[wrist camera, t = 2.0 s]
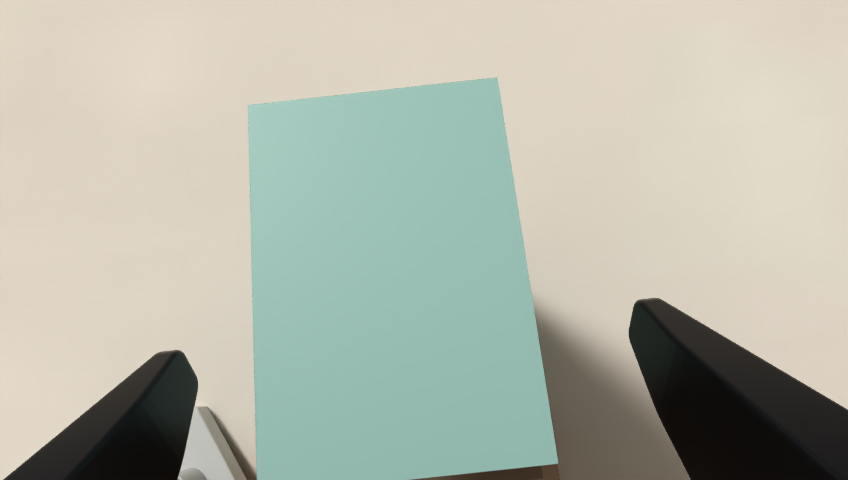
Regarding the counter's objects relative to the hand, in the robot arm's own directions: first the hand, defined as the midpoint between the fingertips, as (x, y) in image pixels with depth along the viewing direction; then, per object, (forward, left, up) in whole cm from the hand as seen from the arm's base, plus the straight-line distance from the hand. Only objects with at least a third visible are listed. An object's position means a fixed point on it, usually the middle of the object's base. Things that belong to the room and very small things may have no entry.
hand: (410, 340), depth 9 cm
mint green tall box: (0, -1, -9) cm, 9 cm away
